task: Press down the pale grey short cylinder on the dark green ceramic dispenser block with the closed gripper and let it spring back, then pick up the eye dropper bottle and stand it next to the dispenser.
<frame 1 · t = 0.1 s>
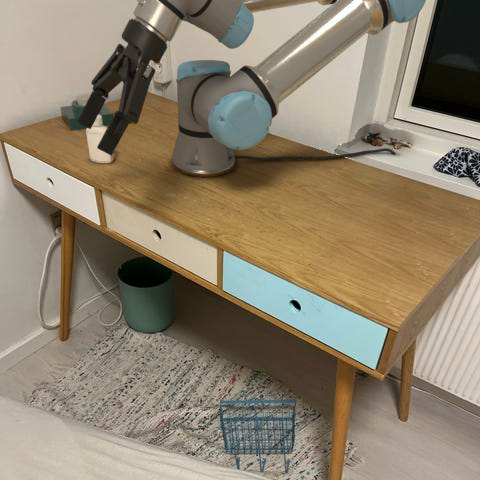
hand: (93, 138, 94), 15 cm above the table, tool tilted 35°, fingers open, 13 cm apart
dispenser: (88, 121, 142), on the table
eye dropper bottle: (102, 161, 123), on the table
pale grey short cylinder: (85, 100, 138), point 6 cm above the table, slide at 0.1 cm
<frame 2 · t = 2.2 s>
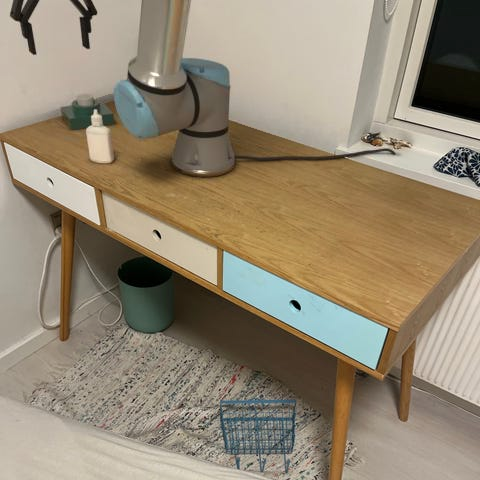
hand: (60, 50, 124), 19 cm above the table, tool pointing down, fingers open, 13 cm apart
nothing on the table moved.
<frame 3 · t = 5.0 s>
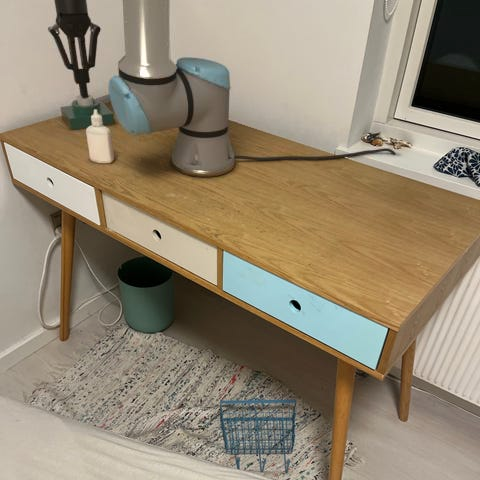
hand: (84, 95, 137), 7 cm above the table, tool pointing down, fingers closed
pale grey short cylinder: (85, 100, 138), point 6 cm above the table, slide at 0.0 cm, touching gripper
everything else where it was.
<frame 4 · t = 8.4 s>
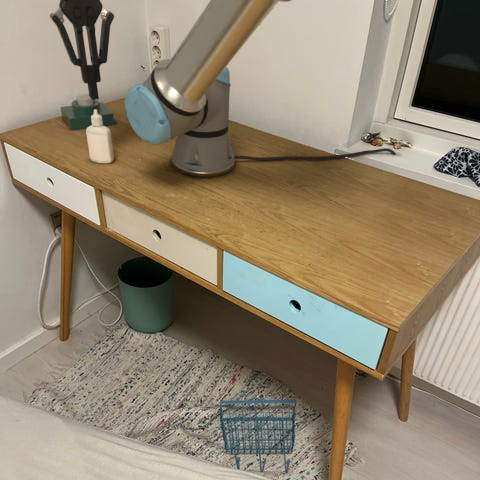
hand: (94, 97, 114), 14 cm above the table, tool pointing down, fingers closed
pale grey short cylinder: (85, 100, 138), point 6 cm above the table, slide at 0.1 cm
everything else where it was.
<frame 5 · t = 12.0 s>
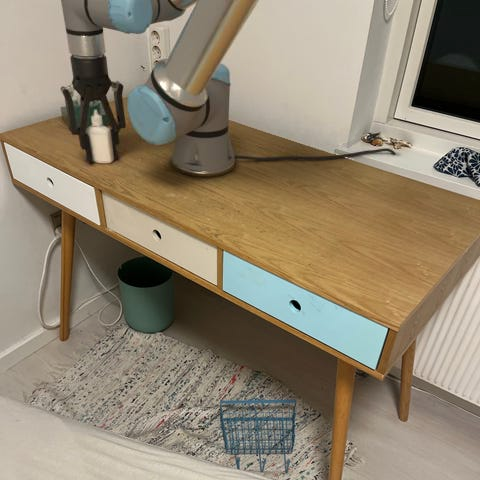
hand: (102, 159, 122), 0 cm above the table, tool pointing down, fingers closed on eye dropper bottle, 5 cm apart
eye dropper bottle: (102, 161, 123), on the table, touching gripper
everything else where it was.
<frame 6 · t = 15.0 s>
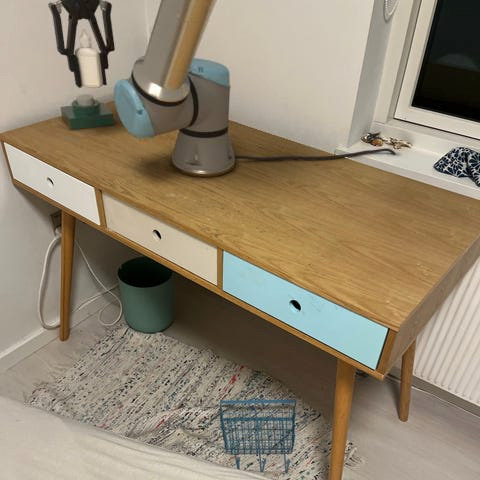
hand: (91, 84, 122), 14 cm above the table, tool pointing down, fingers closed on eye dropper bottle, 5 cm apart
eye dropper bottle: (91, 86, 122), point 14 cm above the table, touching gripper
everything else where it was.
when the fingers open (0 cm above the table, at t = 18.5 s): eye dropper bottle stays where it is, on the table.
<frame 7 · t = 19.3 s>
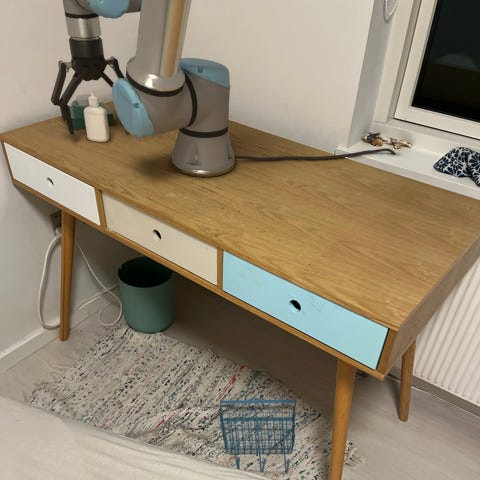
hand: (97, 129, 130), 3 cm above the table, tool pointing down, fingers open, 13 cm apart
eye dropper bottle: (99, 140, 132), on the table
everything else where it was.
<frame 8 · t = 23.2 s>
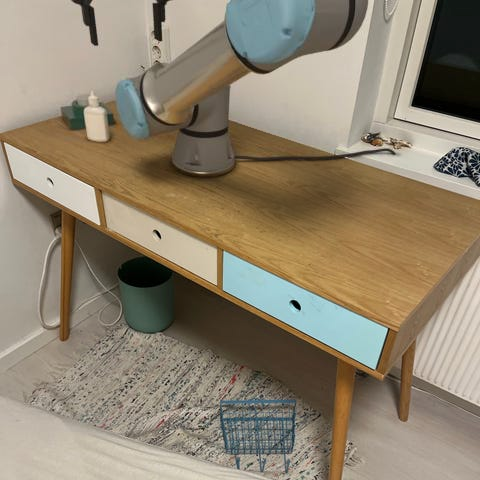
hand: (127, 42, 104), 27 cm above the table, tool pointing down, fingers open, 13 cm apart
nothing on the table moved.
at the end: pale grey short cylinder pushed in 1.2 cm at the most during the clip, back to where it started at the end; pale grey short cylinder slide at 0.1 cm; eye dropper bottle inside the target area on the table beside the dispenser (0.1 cm from its centre), on the table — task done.
